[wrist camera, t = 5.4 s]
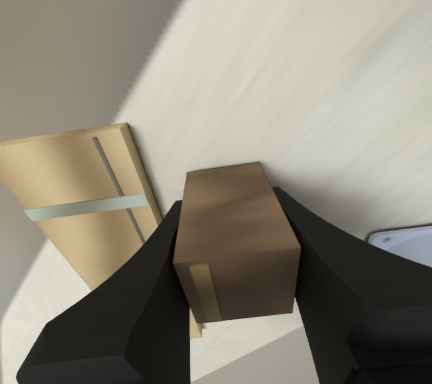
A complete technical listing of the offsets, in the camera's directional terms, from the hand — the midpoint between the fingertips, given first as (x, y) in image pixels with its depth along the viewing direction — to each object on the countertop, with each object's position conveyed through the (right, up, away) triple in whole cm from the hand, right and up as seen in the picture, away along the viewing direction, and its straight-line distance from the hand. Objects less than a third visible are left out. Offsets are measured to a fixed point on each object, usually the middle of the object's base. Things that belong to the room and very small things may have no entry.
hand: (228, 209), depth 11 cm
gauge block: (0, +1, +2) cm, 2 cm away
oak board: (-7, -5, +6) cm, 10 cm away
